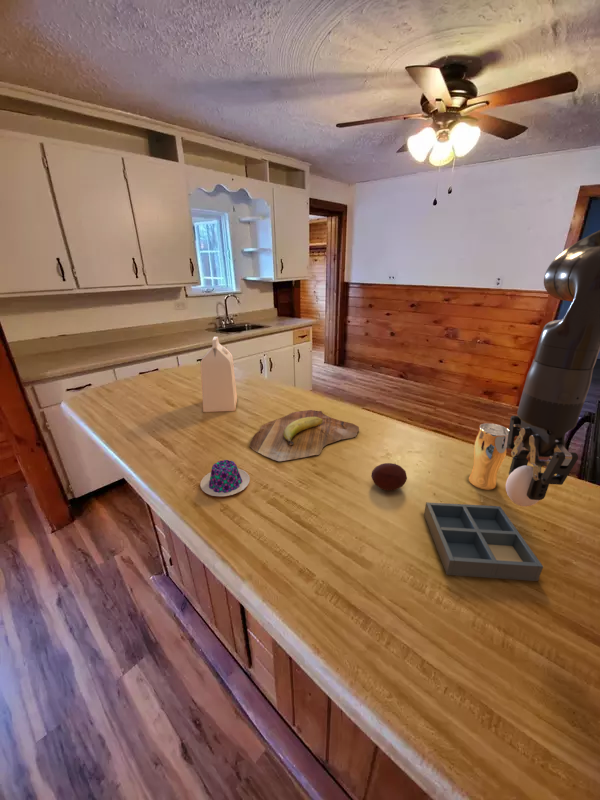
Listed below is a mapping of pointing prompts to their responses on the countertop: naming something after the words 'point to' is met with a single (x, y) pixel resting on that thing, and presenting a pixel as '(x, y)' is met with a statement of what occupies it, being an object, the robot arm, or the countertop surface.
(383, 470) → the potato
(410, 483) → the countertop surface
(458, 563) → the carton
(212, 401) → the milk
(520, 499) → the egg
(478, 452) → the beer glass
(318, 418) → the cutting board
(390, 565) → the countertop surface
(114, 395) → the countertop surface
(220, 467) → the pudding
